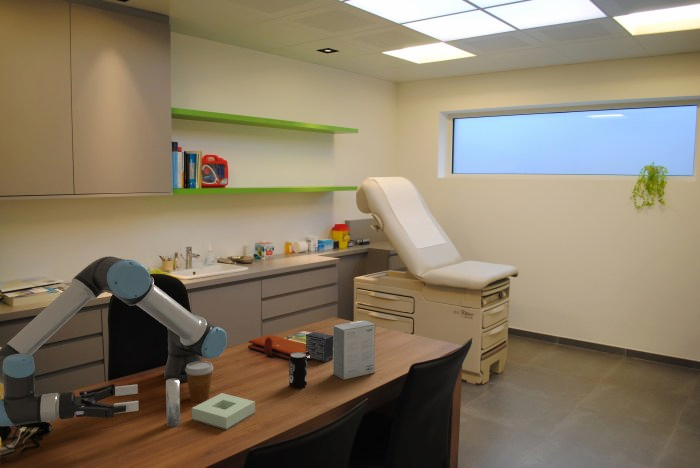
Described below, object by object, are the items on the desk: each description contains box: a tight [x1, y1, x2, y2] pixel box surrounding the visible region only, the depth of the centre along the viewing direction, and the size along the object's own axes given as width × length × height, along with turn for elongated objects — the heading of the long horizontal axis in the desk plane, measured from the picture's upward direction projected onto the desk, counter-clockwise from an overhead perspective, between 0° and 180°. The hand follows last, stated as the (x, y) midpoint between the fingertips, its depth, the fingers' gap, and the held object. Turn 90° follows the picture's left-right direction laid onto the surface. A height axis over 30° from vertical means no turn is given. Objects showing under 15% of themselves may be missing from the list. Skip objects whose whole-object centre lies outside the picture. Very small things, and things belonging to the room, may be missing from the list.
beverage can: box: [288, 351, 308, 390], centre depth 204 cm, size 7×7×12 cm
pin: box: [165, 378, 181, 428], centre depth 171 cm, size 4×4×14 cm
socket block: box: [191, 392, 256, 431], centre depth 177 cm, size 14×14×4 cm
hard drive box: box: [332, 319, 376, 381], centre depth 217 cm, size 16×8×20 cm, turn 123°
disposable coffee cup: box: [185, 360, 214, 403], centre depth 191 cm, size 10×10×12 cm
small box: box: [305, 331, 333, 363], centre depth 235 cm, size 11×6×10 cm, turn 58°
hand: (138, 397), depth 167 cm, fingers open, 13 cm apart
